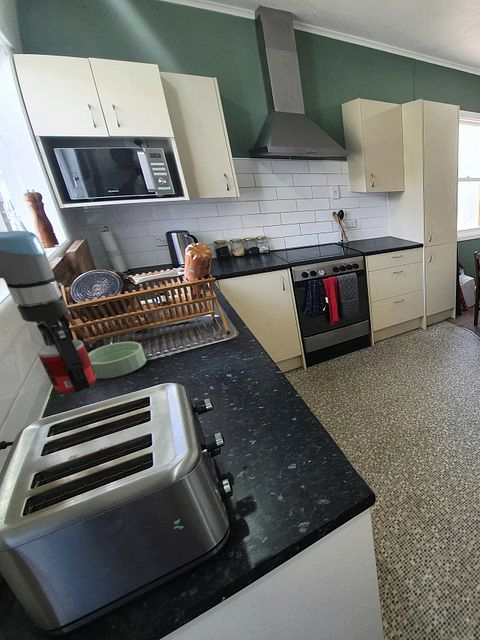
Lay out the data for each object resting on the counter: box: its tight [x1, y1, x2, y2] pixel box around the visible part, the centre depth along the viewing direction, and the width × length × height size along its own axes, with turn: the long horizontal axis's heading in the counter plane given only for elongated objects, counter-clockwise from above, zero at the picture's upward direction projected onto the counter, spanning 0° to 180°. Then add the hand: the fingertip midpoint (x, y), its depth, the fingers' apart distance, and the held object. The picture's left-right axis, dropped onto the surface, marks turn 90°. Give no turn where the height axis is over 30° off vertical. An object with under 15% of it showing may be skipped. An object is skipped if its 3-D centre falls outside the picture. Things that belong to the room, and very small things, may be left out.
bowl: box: [87, 341, 147, 380], centre depth 114 cm, size 15×15×6 cm
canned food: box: [37, 339, 97, 394], centre depth 86 cm, size 8×8×11 cm
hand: (76, 383), depth 89 cm, fingers closed on canned food, 8 cm apart
